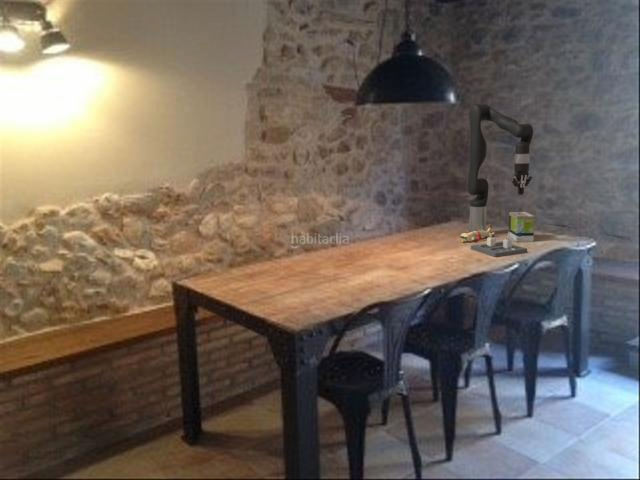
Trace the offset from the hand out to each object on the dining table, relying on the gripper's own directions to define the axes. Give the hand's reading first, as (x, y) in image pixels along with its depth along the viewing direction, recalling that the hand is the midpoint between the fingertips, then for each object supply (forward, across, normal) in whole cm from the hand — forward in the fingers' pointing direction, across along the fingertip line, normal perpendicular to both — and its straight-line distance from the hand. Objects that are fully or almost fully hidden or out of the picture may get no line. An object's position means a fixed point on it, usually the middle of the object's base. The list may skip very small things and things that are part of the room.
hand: (520, 194), depth 311 cm
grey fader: (+25, +18, +12) cm, 33 cm away
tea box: (+27, -8, -8) cm, 30 cm away
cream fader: (+25, +22, +4) cm, 33 cm away
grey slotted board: (+27, +20, +8) cm, 34 cm away
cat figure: (+28, +13, -20) cm, 36 cm away
